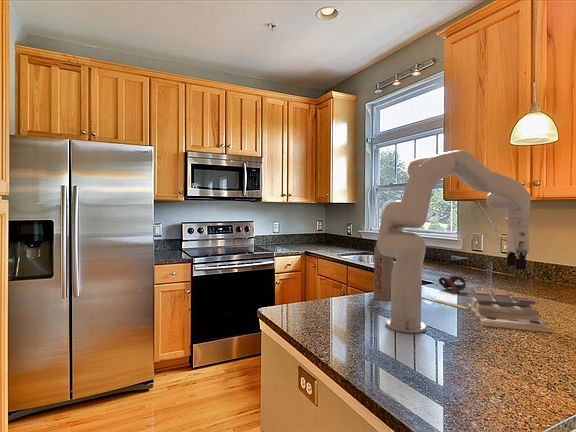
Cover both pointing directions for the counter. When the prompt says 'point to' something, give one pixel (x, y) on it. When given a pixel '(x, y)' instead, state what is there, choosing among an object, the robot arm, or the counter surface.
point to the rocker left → (483, 297)
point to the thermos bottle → (382, 275)
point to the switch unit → (508, 316)
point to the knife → (448, 303)
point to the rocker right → (523, 300)
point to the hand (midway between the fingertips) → (515, 267)
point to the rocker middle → (503, 299)
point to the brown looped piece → (452, 283)
